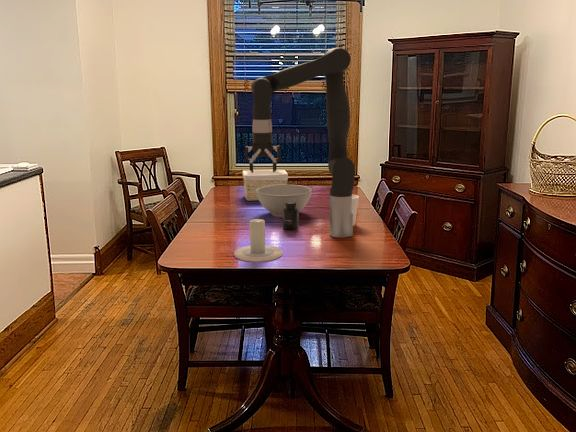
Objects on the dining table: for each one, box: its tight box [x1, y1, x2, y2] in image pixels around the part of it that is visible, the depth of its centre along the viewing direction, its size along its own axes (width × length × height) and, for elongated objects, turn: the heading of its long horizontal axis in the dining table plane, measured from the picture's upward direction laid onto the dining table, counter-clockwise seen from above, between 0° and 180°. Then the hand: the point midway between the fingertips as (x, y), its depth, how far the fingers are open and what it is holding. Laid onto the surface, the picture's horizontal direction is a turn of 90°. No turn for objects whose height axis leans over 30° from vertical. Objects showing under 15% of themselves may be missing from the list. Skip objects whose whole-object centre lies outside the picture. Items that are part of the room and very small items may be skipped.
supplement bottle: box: [282, 201, 300, 232], centre depth 241 cm, size 7×7×12 cm
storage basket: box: [241, 169, 289, 202], centre depth 303 cm, size 24×16×15 cm
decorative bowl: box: [256, 184, 313, 218], centre depth 267 cm, size 27×27×12 cm
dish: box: [233, 244, 283, 263], centre depth 208 cm, size 18×18×1 cm
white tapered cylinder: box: [249, 218, 266, 254], centre depth 207 cm, size 6×6×12 cm
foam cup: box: [352, 193, 360, 227], centre depth 246 cm, size 10×9×13 cm
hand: (263, 172), depth 219 cm, fingers open, 8 cm apart
